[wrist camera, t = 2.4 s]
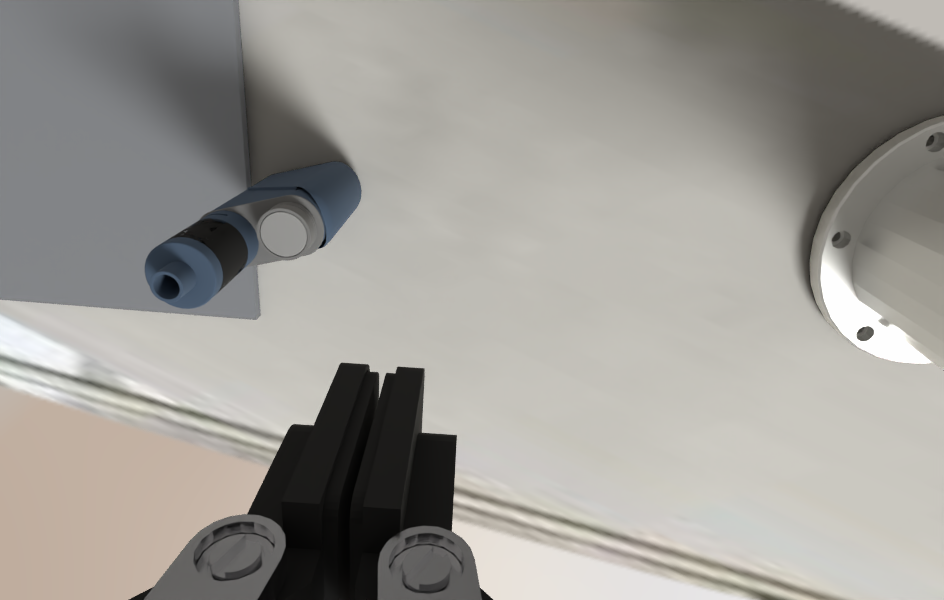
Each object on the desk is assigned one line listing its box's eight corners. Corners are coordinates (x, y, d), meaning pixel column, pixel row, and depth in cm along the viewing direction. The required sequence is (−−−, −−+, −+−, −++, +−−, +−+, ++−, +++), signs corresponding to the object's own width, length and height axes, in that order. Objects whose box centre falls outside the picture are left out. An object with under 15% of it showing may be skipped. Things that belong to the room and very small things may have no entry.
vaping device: (252, 175, 29) (111, 255, 18) (356, 153, 29) (274, 222, 18) (270, 225, 30) (145, 330, 19) (370, 205, 30) (301, 301, 19)
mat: (236, -21, 26) (231, -23, 25) (260, 315, 32) (256, 319, 32) (-135, -52, 26) (-149, -54, 25) (-39, 291, 32) (-48, 295, 32)
